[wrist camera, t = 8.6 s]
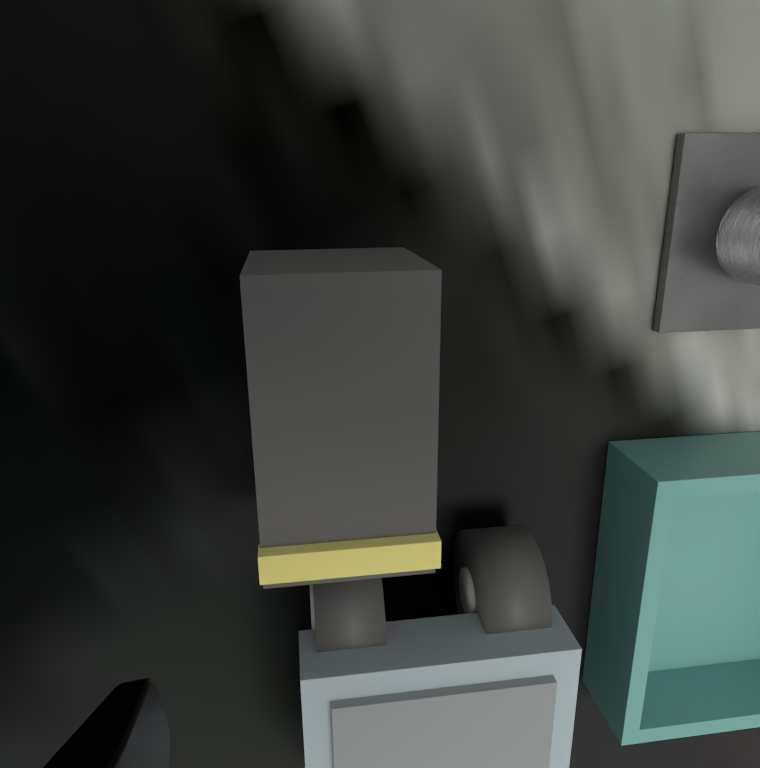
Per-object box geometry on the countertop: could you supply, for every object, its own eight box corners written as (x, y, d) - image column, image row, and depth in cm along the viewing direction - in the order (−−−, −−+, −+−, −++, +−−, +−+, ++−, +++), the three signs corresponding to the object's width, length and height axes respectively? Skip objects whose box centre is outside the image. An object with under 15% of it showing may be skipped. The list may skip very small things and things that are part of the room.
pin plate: (652, 329, 21) (659, 332, 21) (677, 134, 19) (685, 133, 19) (816, 322, 22) (826, 325, 21) (856, 133, 20) (866, 133, 20)
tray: (582, 679, 25) (621, 745, 22) (608, 441, 22) (657, 482, 19) (771, 657, 26) (831, 717, 23) (822, 427, 23) (900, 463, 20)
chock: (265, 496, 21) (260, 598, 16) (248, 250, 19) (235, 278, 14) (403, 486, 22) (440, 581, 17) (404, 246, 19) (448, 272, 14)
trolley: (307, 752, 24) (313, 900, 19) (293, 520, 21) (296, 626, 16) (509, 726, 25) (563, 860, 20) (524, 502, 22) (593, 596, 17)
